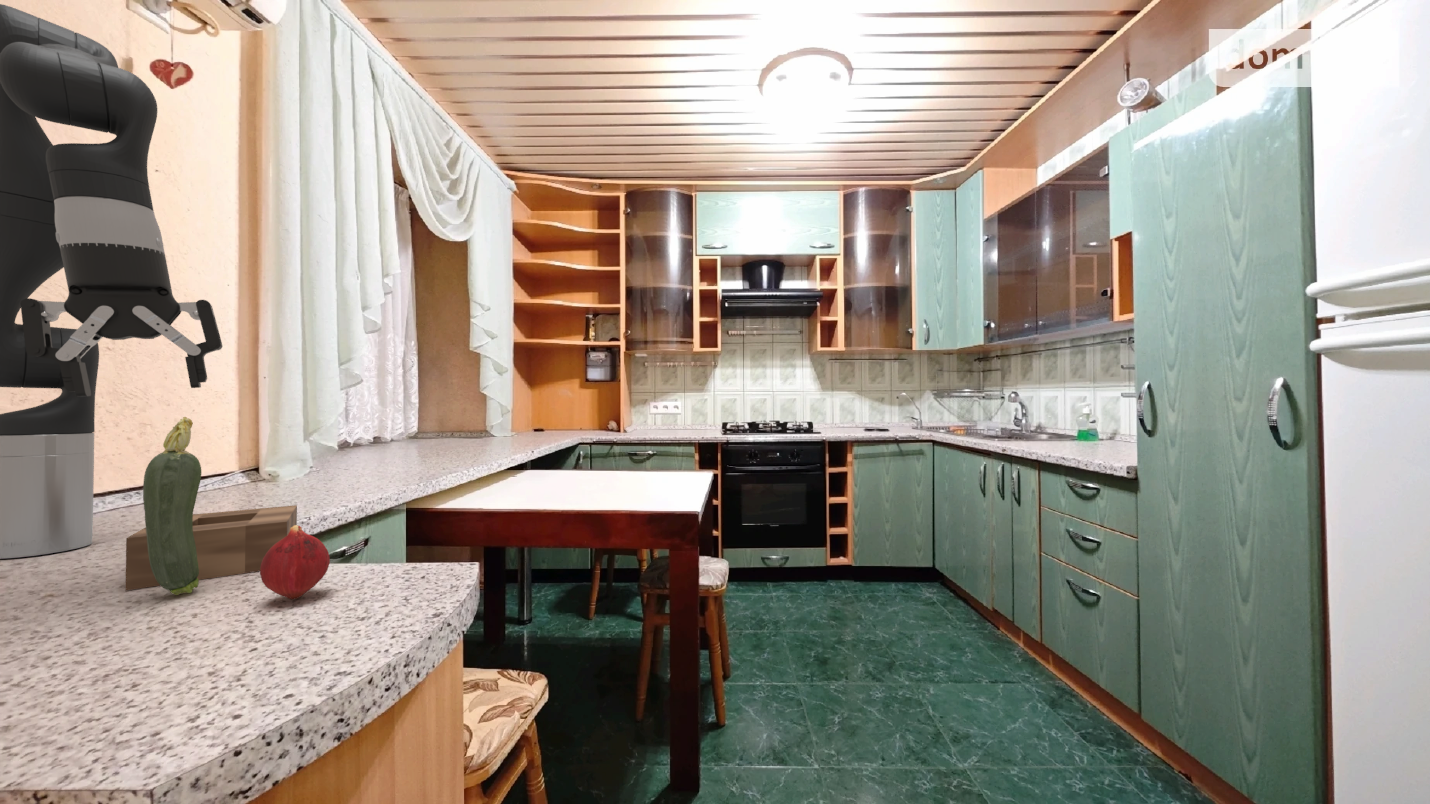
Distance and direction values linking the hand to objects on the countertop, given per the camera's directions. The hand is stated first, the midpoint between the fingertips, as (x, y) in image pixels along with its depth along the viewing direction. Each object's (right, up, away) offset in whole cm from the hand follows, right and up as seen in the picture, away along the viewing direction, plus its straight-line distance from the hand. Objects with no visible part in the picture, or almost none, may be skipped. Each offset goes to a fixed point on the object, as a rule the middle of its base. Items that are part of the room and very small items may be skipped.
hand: (142, 391), depth 56 cm
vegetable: (+5, -23, -2) cm, 24 cm away
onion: (+20, -23, -3) cm, 30 cm away
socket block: (0, -23, +10) cm, 25 cm away
